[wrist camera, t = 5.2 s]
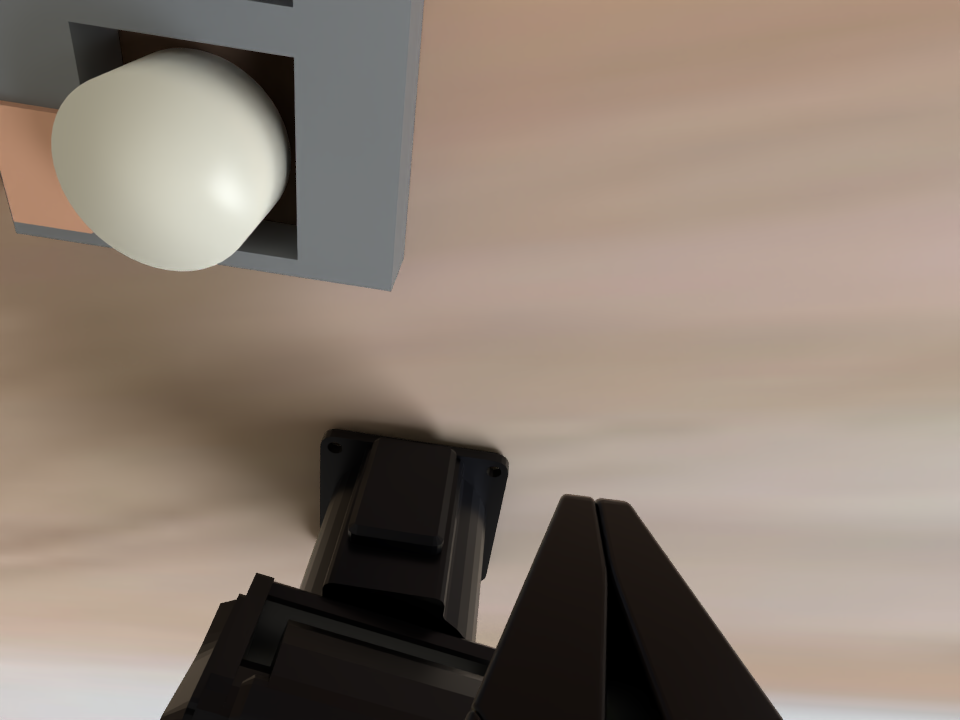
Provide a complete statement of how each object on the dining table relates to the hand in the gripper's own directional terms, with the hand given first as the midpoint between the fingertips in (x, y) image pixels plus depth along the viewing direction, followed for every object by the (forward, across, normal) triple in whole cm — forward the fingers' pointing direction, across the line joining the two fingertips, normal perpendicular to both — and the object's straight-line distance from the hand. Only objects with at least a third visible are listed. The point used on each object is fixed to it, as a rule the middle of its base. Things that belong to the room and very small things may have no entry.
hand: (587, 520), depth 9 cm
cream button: (+10, +9, -1) cm, 14 cm away
